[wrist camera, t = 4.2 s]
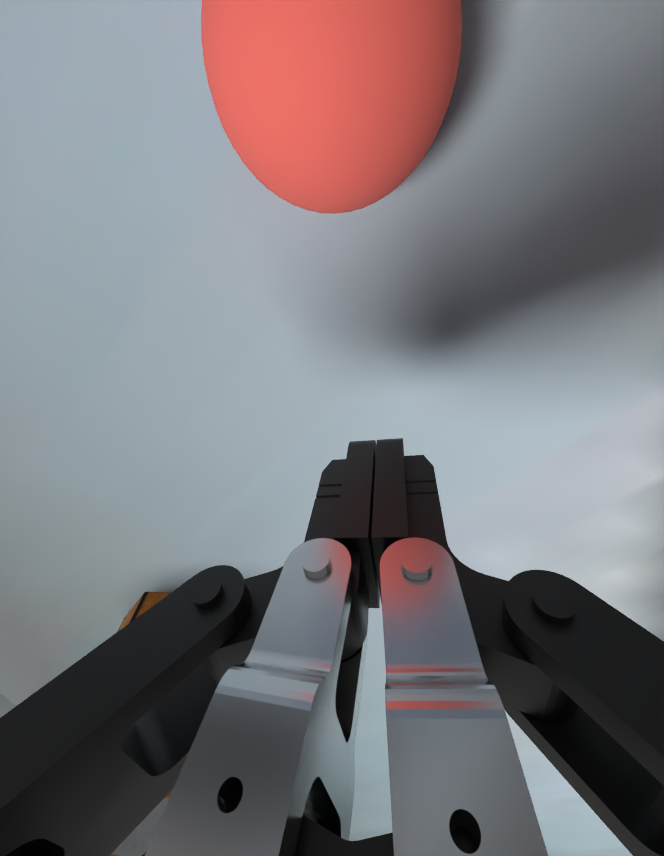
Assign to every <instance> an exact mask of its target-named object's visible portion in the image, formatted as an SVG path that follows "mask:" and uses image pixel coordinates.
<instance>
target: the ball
mask: <svg viewBox="0 0 664 856" xmlns="http://www.w3.org/2000/svg"><path fill="white" fill-rule="evenodd" d="M201 29H202V47H203V56H204V64H205V69H206V74H207V79H208V84H209V87H210V91H211V94H212V98H213V101H214V104H215V108H216V111H217V113H218V116H219V118H220V121H221V123H222V126H223V128H224V130H225V132H226V134H227V136H228V138H229V140H230V142H231V144H232V146H233V147H234V149H235V150H236V152H237V153H238V155H239V156H240V158H241V159H242V161H243V162H244V164H245V165H246V166H247V167H248V169H249V170H250V171H251V172H252V173H253V175H254V176H255V177H256V178H257V179H258V180H259V181H260V182H261V183H262V184H263V185H264V186H265V187H266V188H268V189H269V190H270V191H272V192H273V193H274V194H276V195H277V196H279V197H280V198H282V199H284V200H286V201H287V202H289V203H291V204H293V205H295V206H298V207H301V208H303V209H306V210H309V211H314V212H320V213H343V212H350V211H354V210H357V209H361V208H364V207H366V206H368V205H370V204H373V203H375V202H377V201H378V200H380V199H382V198H383V197H385V196H386V195H388V194H389V193H391V192H392V191H393V190H394V189H396V188H397V187H398V186H399V185H400V184H401V183H402V182H403V181H404V180H405V179H406V178H407V177H408V176H409V175H410V174H411V173H412V172H413V171H414V169H415V168H416V167H417V166H418V164H419V163H420V162H421V160H422V159H423V158H424V156H425V154H426V153H427V151H428V150H429V148H430V146H431V145H432V143H433V141H434V139H435V137H436V135H437V133H438V131H439V129H440V127H441V125H442V122H443V119H444V117H445V114H446V111H447V108H448V106H449V103H450V100H451V96H452V92H453V89H454V85H455V81H456V77H457V71H458V65H459V59H460V52H461V37H462V8H461V0H202V12H201Z"/></svg>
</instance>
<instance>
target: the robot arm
mask: <svg viewBox="0 0 664 856" xmlns="http://www.w3.org/2000/svg"><path fill="white" fill-rule="evenodd" d="M380 596H381V603H382V613H383V629H384V646H385V662H386V684H385V701H386V722H387V740H388V757H389V775H390V793H391V811H392V829H393V833H389V834H385V835H381V836H376V837H372V838H368V839H364V840H359V841H349V835H350V827H351V818H352V809H353V799H354V783H355V764H354V751H355V738H356V730H357V722H358V714H359V706H360V698H361V690H362V682H363V674H364V666H365V658H366V650H367V626H368V608H379V602H380ZM504 709H505V710H504ZM505 711H506V712H507V713H508V715H509V716H510V717H511V718H512V719H513V720H514V721H515V723H516V724H517V725H518V726H519V727H520V728H521V729H522V730H523V732H524V733H525V734H526V735H527V736H528V737H529V738H530V740H531V741H532V742H533V743H534V744H535V745H536V746H537V747H538V749H539V750H540V751H541V752H542V753H543V754H544V755H545V756H546V758H547V759H548V760H549V761H550V762H551V763H552V764H553V766H554V767H555V768H556V769H557V770H558V771H559V772H560V773H561V775H562V776H563V777H564V778H565V779H566V780H567V781H568V783H569V784H570V785H571V786H572V787H573V788H574V789H575V790H576V792H577V793H578V794H579V795H580V796H581V797H582V798H583V800H584V801H585V802H586V803H587V804H588V805H589V806H590V807H591V809H592V810H593V811H594V812H595V813H596V814H597V815H598V816H599V818H600V819H601V820H602V821H603V822H604V823H605V824H606V826H607V827H608V828H609V829H610V830H611V831H612V832H613V833H614V835H615V836H616V837H617V838H618V839H619V840H620V841H621V843H622V844H623V845H624V846H625V847H626V848H627V849H628V850H629V852H630V853H631V854H632V855H633V856H664V642H663V641H662V640H660V639H659V638H658V637H656V636H655V635H653V634H652V633H650V632H649V631H647V630H646V629H644V628H643V627H641V626H640V625H638V624H637V623H635V622H634V621H632V620H631V619H630V618H628V617H627V616H625V615H624V614H622V613H621V612H619V611H618V610H616V609H615V608H613V607H612V606H610V605H609V604H607V603H606V602H605V601H603V600H602V599H600V598H599V597H597V596H596V595H594V594H593V593H591V592H590V591H588V590H587V589H585V588H584V587H582V586H581V585H580V584H578V583H576V582H575V581H573V580H571V579H569V578H567V577H565V576H563V575H560V574H557V573H554V572H550V571H545V570H529V571H524V572H521V573H519V574H517V575H515V576H514V577H513V578H512V579H511V580H510V581H506V580H502V579H499V578H495V577H492V576H488V575H485V574H482V573H479V572H476V571H474V570H472V569H470V568H469V567H467V566H465V565H464V564H463V563H461V562H460V561H459V560H458V559H457V558H456V557H455V556H454V555H453V553H452V552H451V551H450V549H449V547H448V544H447V540H446V535H445V529H444V524H443V518H442V512H441V507H440V501H439V495H438V490H437V484H436V478H435V473H434V467H433V465H432V464H431V463H430V462H429V461H428V460H427V459H426V457H425V456H424V455H416V456H404V449H403V438H400V439H384V440H377V444H376V441H375V440H370V441H354V442H349V447H348V452H347V458H346V459H342V460H332V461H331V462H330V464H329V465H328V466H327V467H326V468H325V469H324V470H323V472H322V475H321V479H320V483H319V487H318V491H317V495H316V499H315V502H314V506H313V510H312V514H311V518H310V522H309V525H308V529H307V533H306V537H305V541H304V543H302V544H301V545H299V546H298V547H296V548H295V549H294V550H293V551H292V552H291V553H290V555H289V556H288V557H287V559H286V561H285V564H284V566H283V567H281V568H279V569H277V570H274V571H271V572H268V573H264V574H261V575H258V576H254V577H251V578H247V579H244V578H243V576H242V574H241V573H240V572H239V571H238V570H237V569H236V568H234V567H231V566H226V565H220V566H214V567H210V568H208V569H205V570H203V571H201V572H199V573H198V574H196V575H195V576H193V577H192V578H191V579H189V580H188V581H187V582H185V583H184V584H183V585H181V586H180V587H178V588H177V589H176V590H174V591H173V592H172V593H170V594H169V595H168V596H166V597H165V598H163V599H162V600H161V601H159V602H158V603H157V604H155V605H154V606H152V607H151V608H150V609H148V610H147V611H146V612H144V613H143V614H142V615H140V616H139V617H137V618H136V619H135V620H133V621H132V622H131V623H129V624H128V625H127V626H125V627H124V628H122V629H121V630H120V631H118V632H117V633H116V634H114V635H113V636H112V637H110V638H109V639H107V640H106V641H105V642H103V643H102V644H101V645H99V646H98V647H97V648H95V649H94V650H92V651H91V652H90V653H88V654H87V655H86V656H84V657H83V658H82V659H80V660H79V661H77V662H76V663H75V664H73V665H72V666H71V667H69V668H68V669H67V670H65V671H64V672H62V673H61V674H60V675H58V676H57V677H56V678H54V679H53V680H52V681H50V682H49V683H47V684H46V685H45V686H43V687H42V688H41V689H39V690H38V691H37V692H35V693H34V694H32V695H31V696H30V697H28V698H27V699H26V700H24V701H23V702H22V703H20V704H19V705H17V706H16V707H15V708H13V709H12V710H11V711H9V712H8V713H7V714H5V715H4V716H2V717H1V718H0V856H110V855H111V854H112V852H113V851H114V850H115V849H116V848H117V847H118V846H119V845H120V844H121V843H122V842H123V841H124V840H125V839H126V838H127V837H128V836H129V835H130V834H131V832H132V831H133V830H134V829H135V828H136V827H137V826H138V825H139V824H140V823H141V822H142V821H143V820H144V819H145V818H146V817H147V816H148V815H149V814H150V813H151V811H152V810H153V809H154V808H155V807H156V806H157V805H158V804H159V803H160V802H161V801H162V800H163V799H164V798H165V797H166V796H167V795H168V794H169V793H170V791H171V790H172V789H173V790H172V793H171V795H170V797H169V800H168V802H167V804H166V807H165V809H164V811H163V814H162V816H161V819H160V821H159V823H158V826H157V828H156V830H155V833H154V835H153V837H152V840H151V842H150V844H149V847H148V849H147V851H146V852H145V853H144V854H143V855H142V856H548V854H547V850H546V847H545V844H544V840H543V837H542V833H541V830H540V827H539V823H538V820H537V817H536V813H535V810H534V807H533V803H532V800H531V797H530V793H529V790H528V787H527V783H526V780H525V777H524V773H523V770H522V767H521V763H520V760H519V757H518V753H517V750H516V747H515V743H514V740H513V737H512V733H511V730H510V726H509V723H508V720H507V717H506V713H505Z"/></svg>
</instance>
